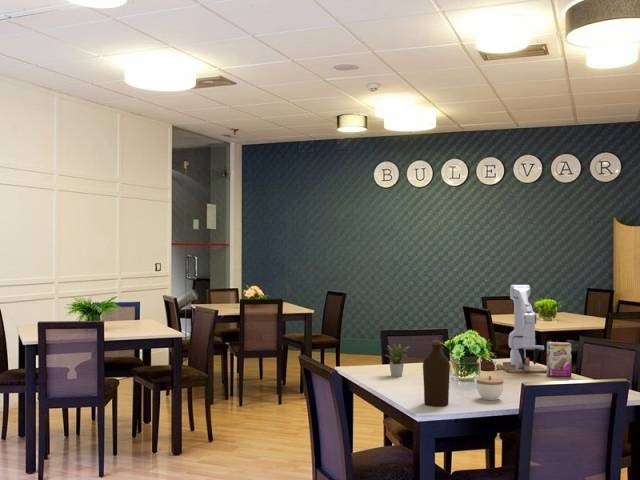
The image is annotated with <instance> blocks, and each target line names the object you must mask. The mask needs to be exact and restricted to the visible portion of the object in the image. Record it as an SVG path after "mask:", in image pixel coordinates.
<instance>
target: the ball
mask: <svg viewBox="0 0 640 480" xmlns="http://www.w3.org/2000/svg"><path fill="white" fill-rule="evenodd" d="M502 366H503V364H501V363H498V364H497V363H496V364H495V369H496V370H498V371H499V370H502V369H501V368H502Z"/></svg>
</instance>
